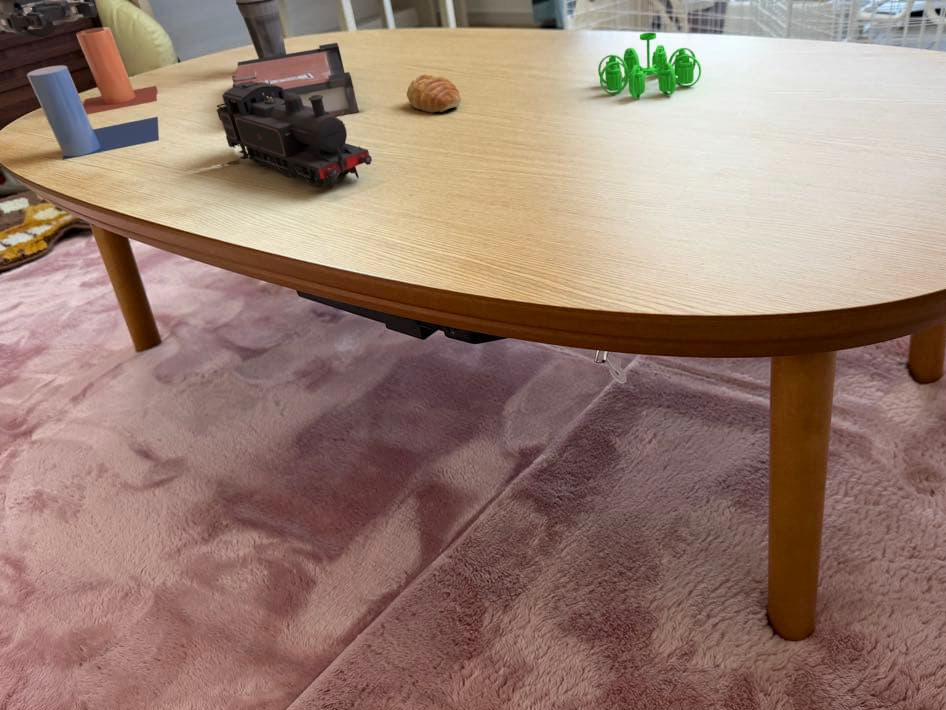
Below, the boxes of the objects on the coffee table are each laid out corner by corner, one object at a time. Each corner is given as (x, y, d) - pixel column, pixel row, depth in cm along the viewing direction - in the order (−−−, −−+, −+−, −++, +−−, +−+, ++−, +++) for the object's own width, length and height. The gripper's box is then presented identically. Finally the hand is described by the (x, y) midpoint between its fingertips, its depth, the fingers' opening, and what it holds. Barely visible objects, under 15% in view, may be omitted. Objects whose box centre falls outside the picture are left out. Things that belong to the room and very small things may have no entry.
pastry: (474, 106, 116) (469, 79, 113) (432, 119, 113) (427, 91, 111) (443, 95, 122) (438, 68, 120) (403, 106, 120) (398, 79, 117)
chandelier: (669, 66, 123) (669, 17, 119) (722, 87, 111) (724, 33, 107) (579, 85, 119) (576, 35, 115) (625, 109, 108) (623, 54, 104)
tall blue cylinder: (62, 159, 112) (24, 77, 106) (64, 150, 116) (28, 70, 110) (99, 152, 114) (65, 70, 107) (101, 142, 117) (68, 63, 111)
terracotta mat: (82, 119, 132) (80, 115, 132) (86, 102, 141) (84, 99, 141) (158, 104, 135) (156, 100, 135) (157, 89, 144) (156, 85, 144)
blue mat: (64, 164, 113) (62, 159, 112) (70, 137, 123) (69, 134, 123) (160, 144, 116) (158, 139, 116) (159, 120, 127) (157, 116, 126)
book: (242, 90, 137) (232, 59, 134) (344, 73, 140) (337, 42, 137) (239, 133, 116) (227, 98, 113) (358, 112, 119) (351, 76, 116)
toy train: (329, 201, 91) (305, 111, 85) (227, 162, 106) (201, 83, 100) (384, 179, 95) (365, 91, 89) (278, 144, 110) (256, 67, 104)
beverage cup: (249, 71, 149) (212, -52, 137) (284, 61, 152) (252, -59, 141) (266, 76, 144) (230, -51, 132) (302, 66, 148) (270, -58, 136)
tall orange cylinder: (103, 106, 135) (74, 36, 129) (104, 99, 139) (76, 31, 133) (135, 100, 137) (109, 30, 130) (136, 93, 141) (110, 25, 134)
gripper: (-27, -3, 136) (14, -1, 127) (55, -19, 144) (100, -18, 135) (-5, 44, 140) (36, 49, 131) (73, 26, 149) (117, 30, 140)
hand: (68, 15), depth 133 cm, fingers open, 8 cm apart
